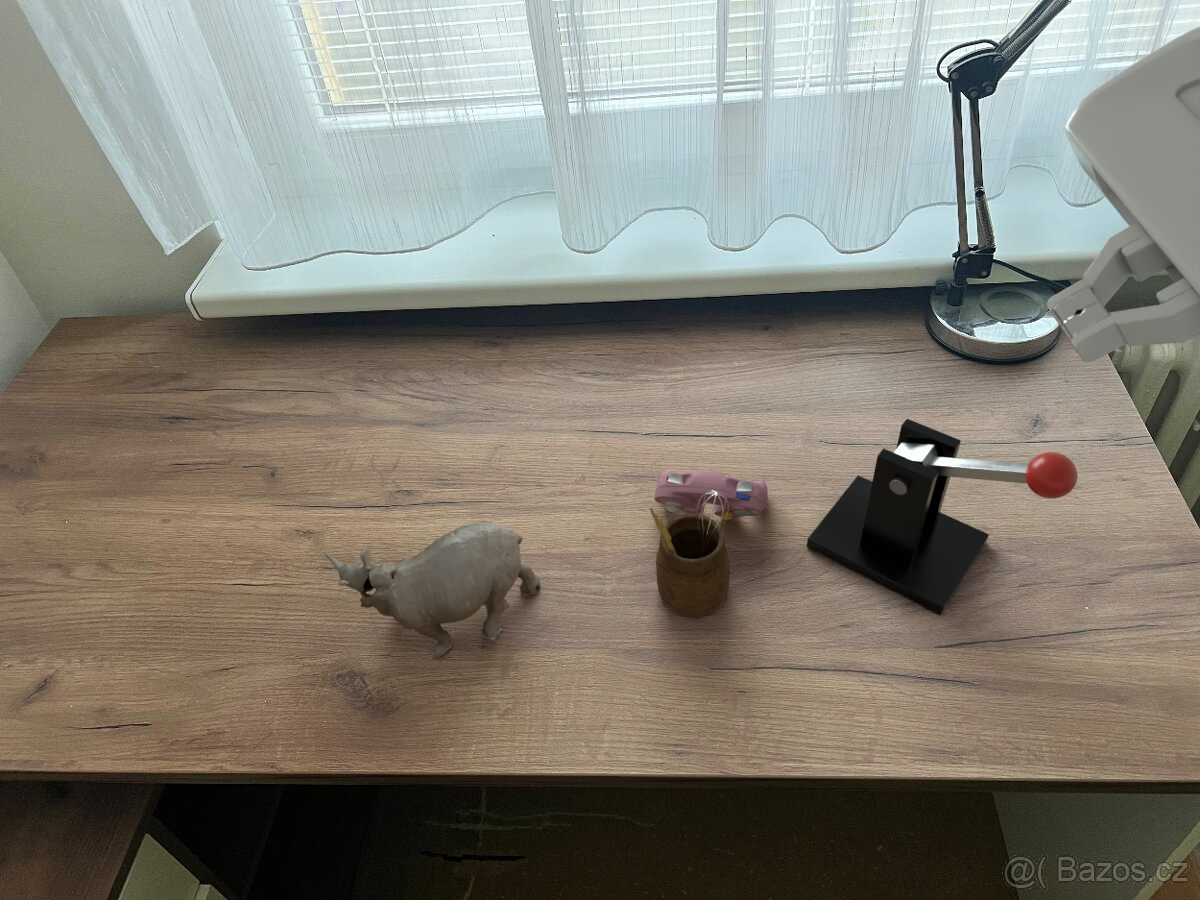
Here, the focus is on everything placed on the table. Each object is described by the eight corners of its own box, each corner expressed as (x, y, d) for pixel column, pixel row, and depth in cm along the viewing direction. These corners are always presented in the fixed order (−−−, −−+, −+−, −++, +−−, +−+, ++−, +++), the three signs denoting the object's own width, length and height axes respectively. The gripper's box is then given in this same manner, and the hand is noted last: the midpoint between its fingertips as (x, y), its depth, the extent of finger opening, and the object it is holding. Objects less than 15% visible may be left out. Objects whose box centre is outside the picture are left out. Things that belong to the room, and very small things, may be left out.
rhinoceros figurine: (575, 626, 68) (430, 532, 61) (455, 705, 73) (306, 627, 66) (568, 554, 75) (436, 460, 67) (457, 631, 79) (322, 552, 72)
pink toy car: (656, 520, 81) (646, 501, 74) (663, 473, 82) (655, 450, 76) (764, 534, 79) (764, 515, 72) (770, 486, 80) (770, 463, 73)
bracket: (986, 543, 74) (1021, 444, 66) (940, 615, 69) (972, 519, 61) (856, 483, 80) (873, 386, 72) (806, 547, 75) (819, 450, 67)
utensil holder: (743, 598, 72) (749, 502, 64) (679, 634, 70) (676, 539, 62) (702, 551, 76) (703, 454, 67) (641, 583, 74) (633, 488, 66)
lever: (1087, 481, 60) (1080, 444, 59) (1071, 510, 59) (1063, 472, 57) (912, 466, 70) (902, 434, 69) (894, 491, 69) (883, 458, 67)
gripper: (1666, 373, 28) (1209, 556, 34) (1280, 56, 41) (996, 231, 47) (1700, 267, 24) (1174, 496, 30) (1259, -49, 37) (951, 158, 43)
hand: (1064, 333), depth 39 cm, fingers closed
